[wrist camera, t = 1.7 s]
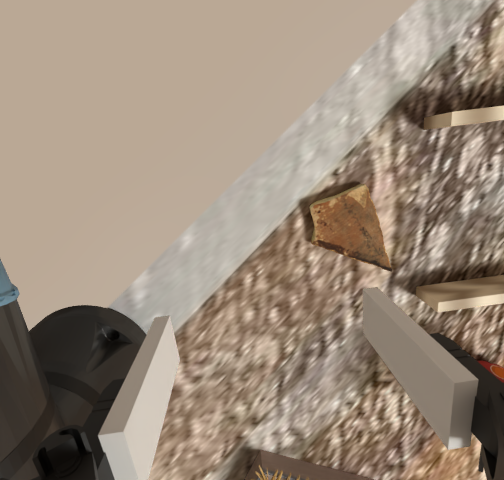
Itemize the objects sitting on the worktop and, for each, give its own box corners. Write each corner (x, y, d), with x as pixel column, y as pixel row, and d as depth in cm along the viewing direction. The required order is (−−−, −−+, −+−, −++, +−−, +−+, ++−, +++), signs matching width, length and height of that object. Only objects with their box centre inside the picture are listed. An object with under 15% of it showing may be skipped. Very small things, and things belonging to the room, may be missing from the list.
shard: (385, 266, 35) (393, 272, 33) (325, 289, 35) (330, 296, 33) (363, 181, 32) (370, 182, 30) (297, 206, 32) (301, 209, 30)
